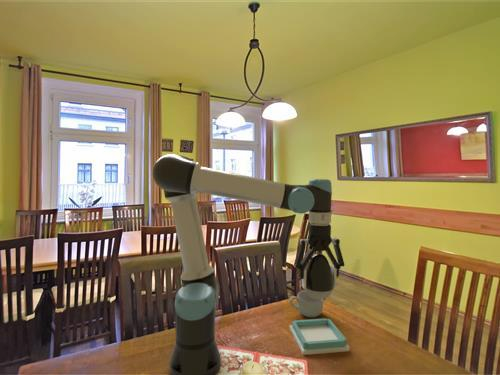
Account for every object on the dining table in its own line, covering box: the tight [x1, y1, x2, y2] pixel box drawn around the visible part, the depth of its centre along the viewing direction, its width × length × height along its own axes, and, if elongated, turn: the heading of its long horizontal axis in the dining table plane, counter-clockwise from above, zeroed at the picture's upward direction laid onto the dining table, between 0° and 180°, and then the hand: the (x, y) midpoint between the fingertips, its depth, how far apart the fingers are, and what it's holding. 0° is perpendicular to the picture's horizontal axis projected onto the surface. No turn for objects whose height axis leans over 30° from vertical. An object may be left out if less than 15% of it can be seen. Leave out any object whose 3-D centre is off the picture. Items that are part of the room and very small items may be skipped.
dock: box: [288, 318, 351, 356], centre depth 102 cm, size 16×16×3 cm
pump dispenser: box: [303, 252, 335, 300], centre depth 101 cm, size 10×10×15 cm
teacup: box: [289, 289, 325, 319], centre depth 120 cm, size 14×11×8 cm
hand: (318, 286), depth 101 cm, fingers closed on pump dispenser, 10 cm apart
